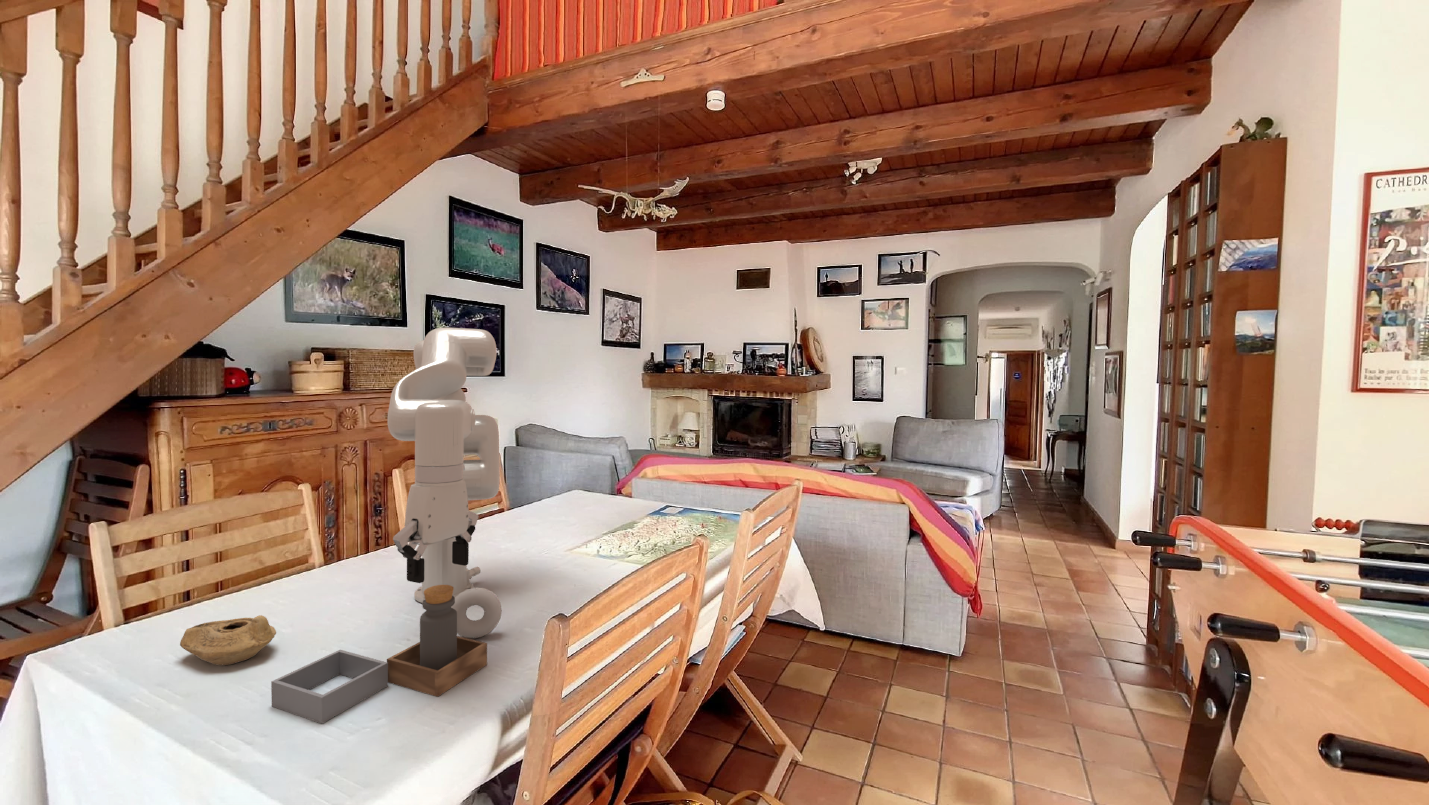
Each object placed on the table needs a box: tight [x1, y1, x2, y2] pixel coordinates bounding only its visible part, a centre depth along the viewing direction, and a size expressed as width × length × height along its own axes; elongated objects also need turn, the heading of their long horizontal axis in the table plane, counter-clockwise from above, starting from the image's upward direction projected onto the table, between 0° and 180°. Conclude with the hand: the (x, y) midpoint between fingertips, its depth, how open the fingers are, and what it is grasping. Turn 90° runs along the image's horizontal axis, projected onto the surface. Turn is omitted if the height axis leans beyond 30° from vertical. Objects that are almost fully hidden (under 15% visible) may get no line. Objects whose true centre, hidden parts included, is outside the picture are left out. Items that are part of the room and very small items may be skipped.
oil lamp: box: [179, 614, 277, 666], centre depth 103 cm, size 11×15×8 cm
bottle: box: [419, 585, 458, 670], centre depth 100 cm, size 6×6×15 cm
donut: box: [451, 587, 503, 639], centre depth 114 cm, size 10×4×10 cm, turn 106°
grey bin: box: [270, 649, 389, 725], centre depth 93 cm, size 11×11×4 cm
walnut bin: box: [386, 635, 488, 697], centre depth 101 cm, size 11×11×4 cm
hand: (438, 572), depth 99 cm, fingers open, 9 cm apart
